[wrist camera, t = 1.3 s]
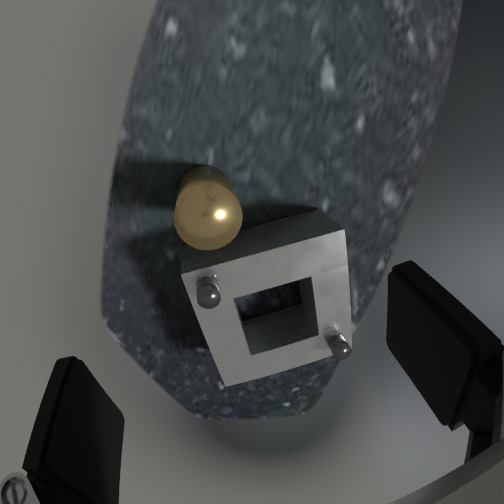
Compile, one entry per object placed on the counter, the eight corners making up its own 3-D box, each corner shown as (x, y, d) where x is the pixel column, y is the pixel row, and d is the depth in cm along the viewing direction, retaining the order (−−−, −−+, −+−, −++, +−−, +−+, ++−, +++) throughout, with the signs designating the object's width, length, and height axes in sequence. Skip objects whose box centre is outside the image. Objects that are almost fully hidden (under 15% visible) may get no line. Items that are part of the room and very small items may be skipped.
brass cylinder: (172, 173, 24) (165, 195, 18) (222, 159, 24) (233, 177, 18) (186, 220, 26) (185, 257, 20) (234, 207, 26) (249, 240, 20)
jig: (182, 245, 27) (180, 286, 21) (320, 208, 27) (354, 237, 21) (220, 350, 32) (227, 399, 26) (332, 317, 33) (358, 359, 27)
